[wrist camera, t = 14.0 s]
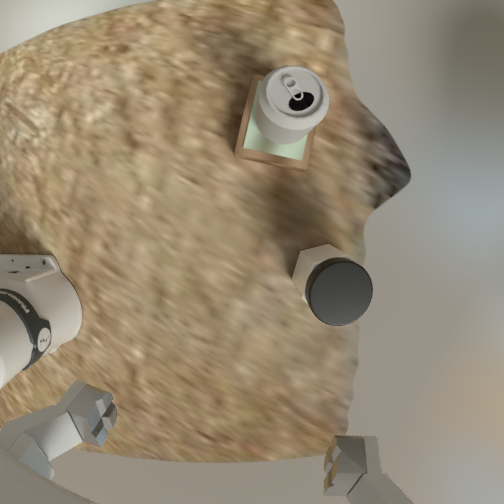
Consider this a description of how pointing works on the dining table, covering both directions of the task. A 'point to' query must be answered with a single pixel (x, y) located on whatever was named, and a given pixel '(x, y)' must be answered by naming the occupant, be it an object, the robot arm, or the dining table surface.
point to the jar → (332, 285)
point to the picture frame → (263, 149)
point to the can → (290, 104)
